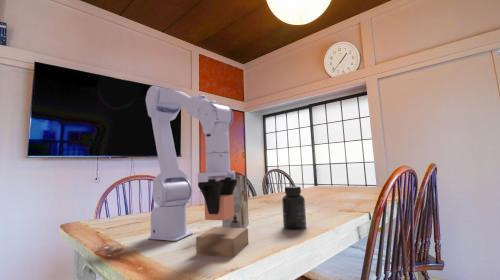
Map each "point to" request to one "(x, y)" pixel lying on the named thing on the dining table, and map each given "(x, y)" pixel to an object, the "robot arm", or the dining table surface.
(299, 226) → the supplement bottle
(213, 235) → the walnut block
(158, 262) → the dining table surface
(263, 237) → the dining table surface
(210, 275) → the dining table surface
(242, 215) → the coffee box
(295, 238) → the dining table surface
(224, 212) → the red cube
